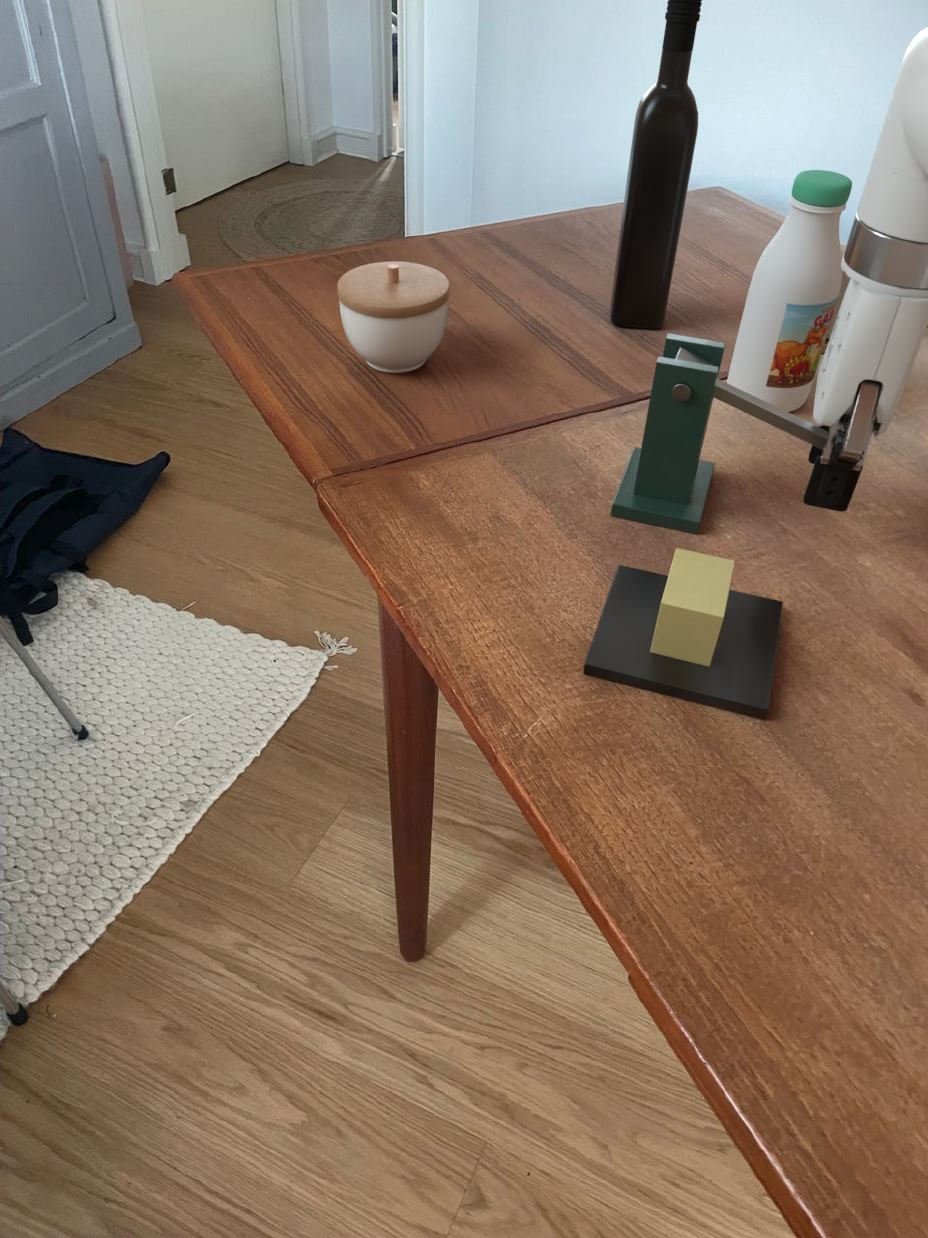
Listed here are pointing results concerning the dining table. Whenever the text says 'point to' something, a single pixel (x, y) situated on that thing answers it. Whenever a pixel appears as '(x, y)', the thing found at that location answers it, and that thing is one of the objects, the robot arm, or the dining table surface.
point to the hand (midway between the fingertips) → (826, 482)
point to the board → (725, 684)
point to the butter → (693, 607)
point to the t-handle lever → (763, 408)
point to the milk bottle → (793, 295)
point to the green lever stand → (673, 441)
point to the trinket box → (394, 313)
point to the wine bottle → (657, 179)
